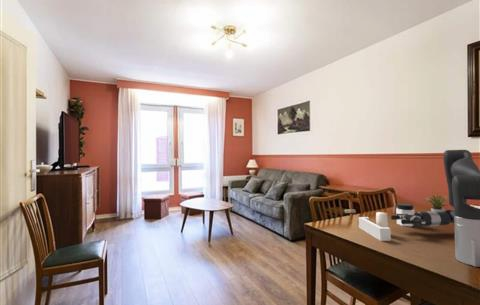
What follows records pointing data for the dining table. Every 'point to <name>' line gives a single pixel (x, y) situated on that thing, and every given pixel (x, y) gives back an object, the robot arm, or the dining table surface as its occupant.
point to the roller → (350, 211)
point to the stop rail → (375, 229)
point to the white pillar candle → (381, 219)
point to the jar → (404, 211)
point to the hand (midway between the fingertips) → (396, 219)
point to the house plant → (437, 203)
